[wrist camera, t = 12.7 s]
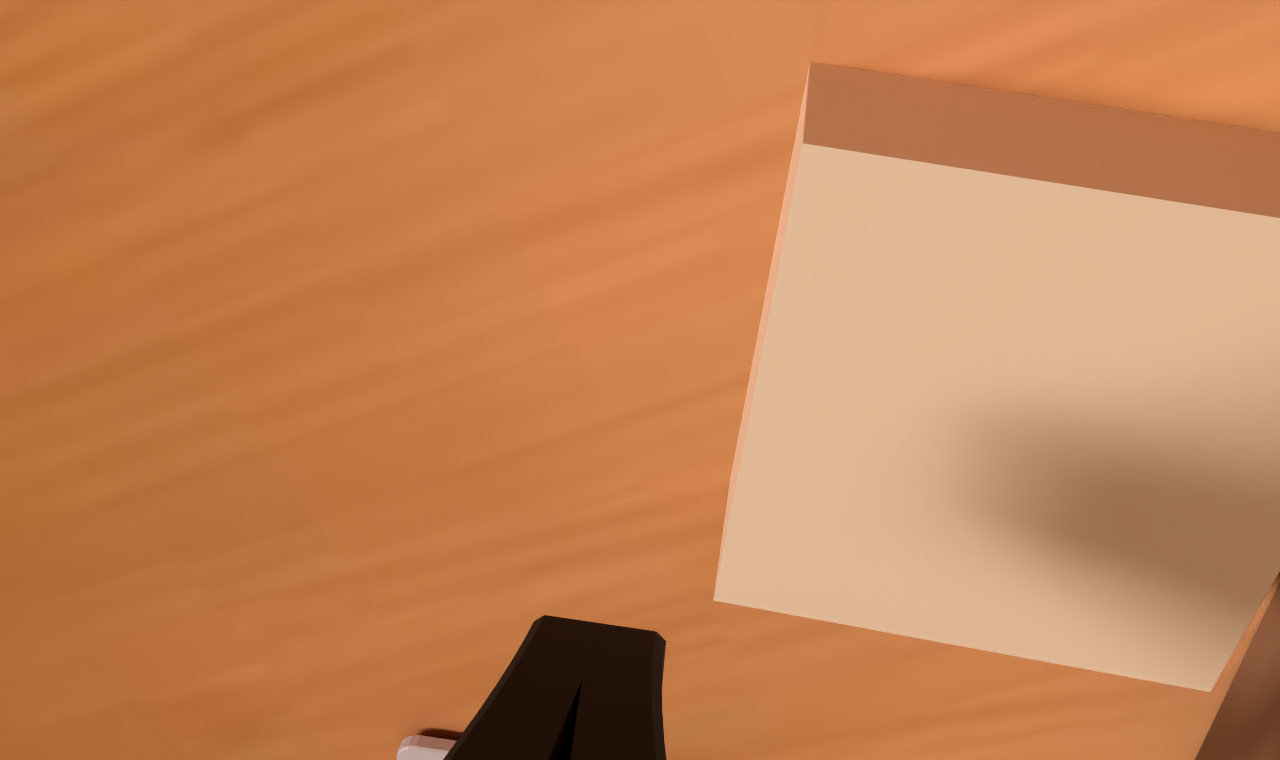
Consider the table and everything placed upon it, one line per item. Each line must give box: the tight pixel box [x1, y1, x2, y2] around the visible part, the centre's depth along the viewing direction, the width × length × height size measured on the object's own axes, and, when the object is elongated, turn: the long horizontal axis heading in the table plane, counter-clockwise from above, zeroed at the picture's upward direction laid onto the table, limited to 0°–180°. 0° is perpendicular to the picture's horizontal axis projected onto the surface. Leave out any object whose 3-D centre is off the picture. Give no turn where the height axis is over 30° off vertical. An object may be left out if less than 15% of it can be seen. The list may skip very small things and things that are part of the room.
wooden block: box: [714, 62, 1280, 692], centre depth 18 cm, size 8×8×4 cm
